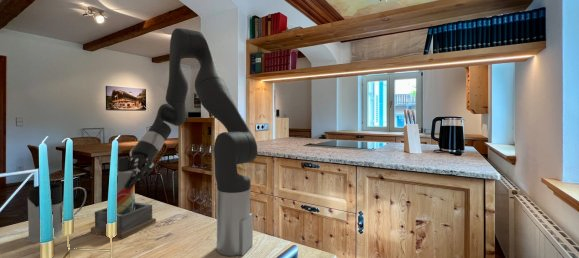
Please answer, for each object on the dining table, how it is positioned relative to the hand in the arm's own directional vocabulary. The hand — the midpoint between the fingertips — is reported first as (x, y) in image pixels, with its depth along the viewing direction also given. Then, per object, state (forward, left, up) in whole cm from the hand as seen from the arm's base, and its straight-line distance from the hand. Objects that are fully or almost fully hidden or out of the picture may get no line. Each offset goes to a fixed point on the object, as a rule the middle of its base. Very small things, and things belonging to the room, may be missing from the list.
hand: (119, 187), depth 86 cm
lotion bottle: (0, -2, -10) cm, 11 cm away
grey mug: (+15, +8, -14) cm, 23 cm away
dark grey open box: (0, -2, -14) cm, 14 cm away
